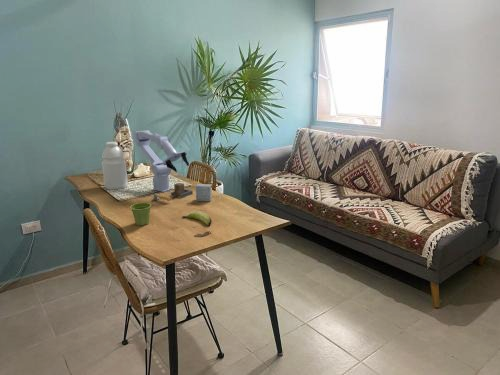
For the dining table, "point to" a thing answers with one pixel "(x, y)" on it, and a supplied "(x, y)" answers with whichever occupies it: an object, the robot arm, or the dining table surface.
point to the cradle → (187, 192)
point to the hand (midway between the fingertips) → (182, 167)
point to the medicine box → (203, 192)
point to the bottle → (114, 167)
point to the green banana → (201, 217)
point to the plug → (179, 189)
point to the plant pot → (141, 213)
